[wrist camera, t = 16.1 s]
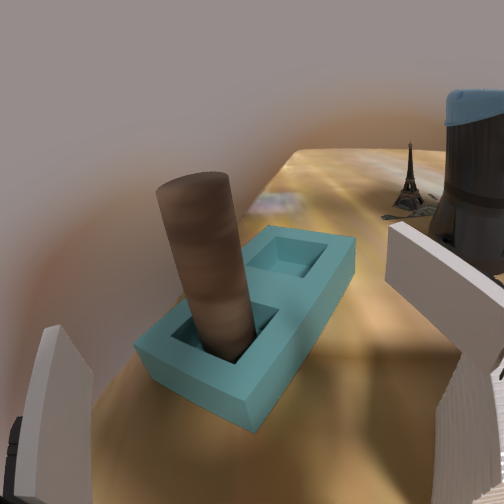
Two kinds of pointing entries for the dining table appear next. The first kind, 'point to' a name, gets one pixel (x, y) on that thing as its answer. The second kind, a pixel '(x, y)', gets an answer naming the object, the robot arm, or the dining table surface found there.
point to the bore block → (257, 326)
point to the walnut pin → (209, 261)
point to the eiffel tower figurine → (412, 196)
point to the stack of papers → (470, 438)
